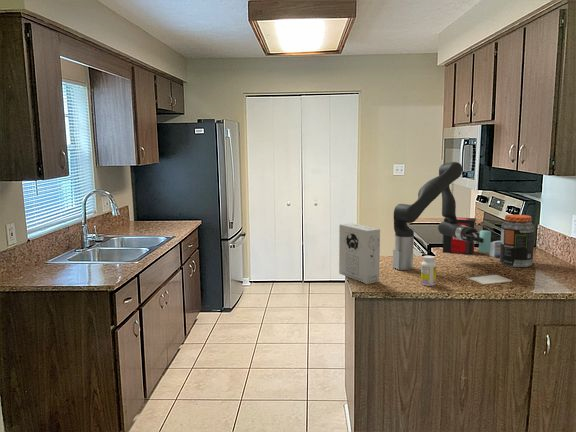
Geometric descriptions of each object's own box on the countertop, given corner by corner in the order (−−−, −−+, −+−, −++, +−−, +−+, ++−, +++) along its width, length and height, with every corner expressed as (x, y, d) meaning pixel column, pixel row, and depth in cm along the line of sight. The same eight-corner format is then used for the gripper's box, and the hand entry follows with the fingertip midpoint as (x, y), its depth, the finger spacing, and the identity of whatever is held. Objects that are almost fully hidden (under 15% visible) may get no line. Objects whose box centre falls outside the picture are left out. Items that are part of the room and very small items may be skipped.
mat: (483, 284, 214) (483, 283, 214) (466, 277, 225) (466, 276, 225) (512, 281, 218) (512, 280, 218) (494, 274, 230) (494, 273, 230)
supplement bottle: (433, 281, 219) (434, 254, 217) (437, 286, 212) (439, 258, 210) (418, 282, 219) (419, 255, 217) (423, 286, 212) (424, 258, 210)
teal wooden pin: (483, 253, 223) (484, 232, 221) (476, 251, 227) (477, 230, 226) (492, 252, 224) (493, 231, 223) (484, 250, 229) (485, 230, 227)
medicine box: (494, 257, 264) (495, 242, 263) (488, 255, 269) (489, 240, 267) (506, 256, 266) (506, 241, 265) (500, 254, 271) (501, 240, 269)
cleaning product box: (442, 252, 278) (444, 218, 275) (444, 249, 286) (446, 216, 283) (472, 255, 271) (474, 220, 268) (474, 251, 279) (475, 218, 276)
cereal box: (379, 282, 220) (380, 229, 216) (366, 284, 216) (367, 230, 212) (351, 271, 238) (351, 222, 234) (338, 273, 234) (339, 224, 231)
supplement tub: (531, 262, 253) (534, 214, 250) (533, 269, 239) (537, 218, 235) (499, 259, 260) (501, 213, 256) (499, 266, 245) (502, 217, 241)
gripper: (454, 227, 237) (474, 233, 221) (479, 225, 240) (501, 231, 224) (453, 241, 238) (474, 249, 222) (478, 240, 241) (500, 247, 225)
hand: (487, 240), depth 223 cm, fingers closed on teal wooden pin, 5 cm apart
